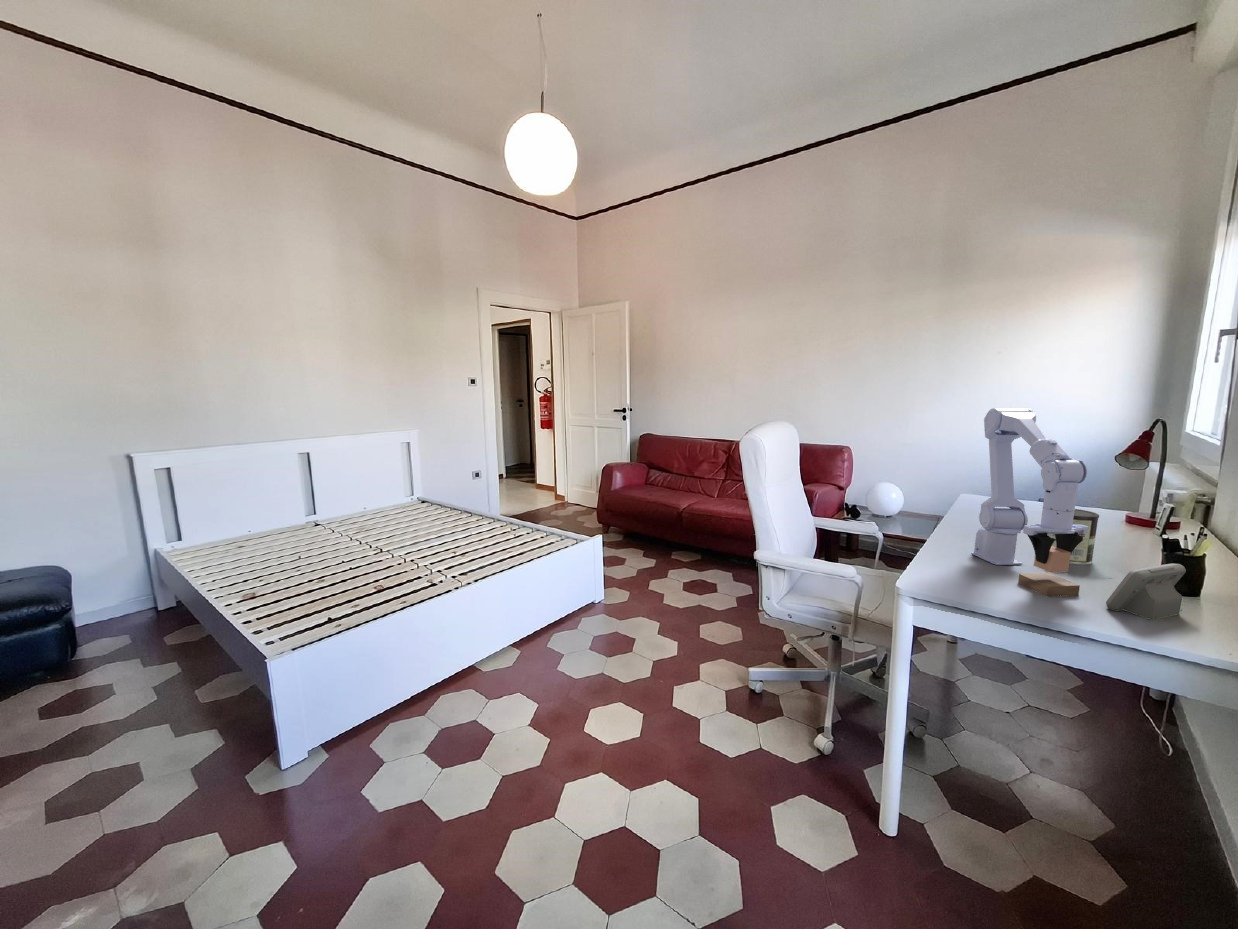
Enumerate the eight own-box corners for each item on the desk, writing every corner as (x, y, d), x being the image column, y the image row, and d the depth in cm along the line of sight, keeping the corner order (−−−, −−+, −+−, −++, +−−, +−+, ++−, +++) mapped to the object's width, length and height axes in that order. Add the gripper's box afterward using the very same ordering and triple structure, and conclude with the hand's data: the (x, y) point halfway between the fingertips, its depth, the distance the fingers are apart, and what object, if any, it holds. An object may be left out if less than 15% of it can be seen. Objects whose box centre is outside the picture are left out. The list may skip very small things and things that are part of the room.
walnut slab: (1018, 584, 124) (1019, 573, 124) (1048, 583, 125) (1049, 572, 124) (1046, 598, 116) (1047, 586, 116) (1078, 597, 117) (1079, 585, 116)
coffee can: (1068, 552, 146) (1075, 507, 144) (1102, 564, 136) (1110, 516, 134) (1034, 552, 146) (1040, 507, 144) (1066, 565, 136) (1073, 517, 134)
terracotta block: (1033, 565, 122) (1036, 546, 121) (1050, 565, 122) (1053, 546, 121) (1050, 572, 117) (1053, 552, 116) (1067, 571, 117) (1070, 552, 117)
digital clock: (1153, 600, 114) (1160, 557, 112) (1201, 618, 105) (1210, 571, 103) (1089, 603, 113) (1096, 559, 111) (1132, 621, 104) (1140, 574, 102)
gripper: (1044, 513, 113) (1037, 568, 115) (1104, 512, 113) (1095, 567, 116) (1018, 506, 120) (1012, 558, 122) (1075, 505, 120) (1067, 556, 122)
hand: (1051, 562), depth 119 cm, fingers closed on terracotta block, 5 cm apart
